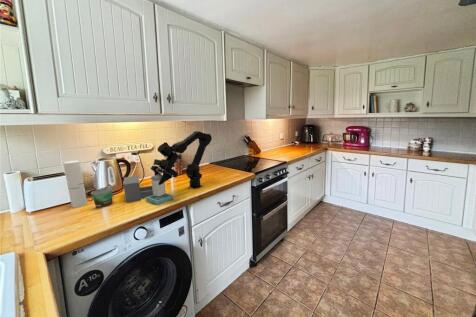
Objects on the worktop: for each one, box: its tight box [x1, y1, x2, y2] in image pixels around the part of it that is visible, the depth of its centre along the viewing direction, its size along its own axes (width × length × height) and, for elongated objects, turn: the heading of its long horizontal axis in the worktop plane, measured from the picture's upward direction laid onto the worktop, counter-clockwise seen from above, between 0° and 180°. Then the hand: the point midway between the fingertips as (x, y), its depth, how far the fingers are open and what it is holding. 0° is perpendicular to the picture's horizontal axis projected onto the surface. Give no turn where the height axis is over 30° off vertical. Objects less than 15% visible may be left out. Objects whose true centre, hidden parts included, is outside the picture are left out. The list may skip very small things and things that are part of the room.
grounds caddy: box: [150, 174, 167, 196], centre depth 124 cm, size 5×5×11 cm
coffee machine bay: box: [123, 175, 153, 204], centre depth 133 cm, size 17×16×11 cm
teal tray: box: [145, 192, 174, 206], centre depth 126 cm, size 11×11×2 cm
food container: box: [91, 184, 114, 209], centre depth 121 cm, size 12×6×10 cm, turn 168°
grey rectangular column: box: [62, 160, 88, 208], centre depth 120 cm, size 7×7×25 cm
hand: (156, 184), depth 123 cm, fingers closed on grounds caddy, 5 cm apart
